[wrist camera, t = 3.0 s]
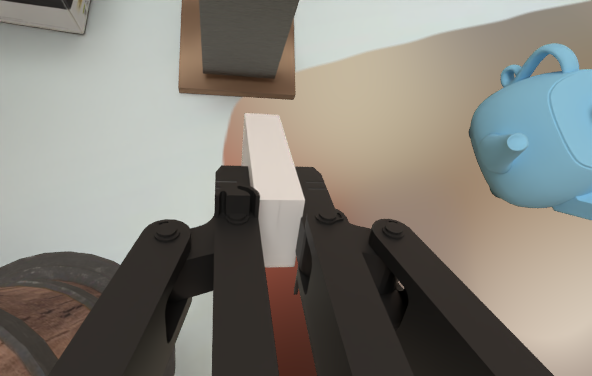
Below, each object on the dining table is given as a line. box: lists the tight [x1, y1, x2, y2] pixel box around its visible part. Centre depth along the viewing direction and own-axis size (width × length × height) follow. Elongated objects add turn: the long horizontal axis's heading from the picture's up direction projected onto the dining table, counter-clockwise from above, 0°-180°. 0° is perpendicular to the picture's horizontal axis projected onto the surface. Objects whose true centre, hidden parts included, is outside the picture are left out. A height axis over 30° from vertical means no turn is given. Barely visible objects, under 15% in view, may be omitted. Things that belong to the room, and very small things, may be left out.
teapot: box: [469, 43, 592, 220], centre depth 35 cm, size 15×14×11 cm
